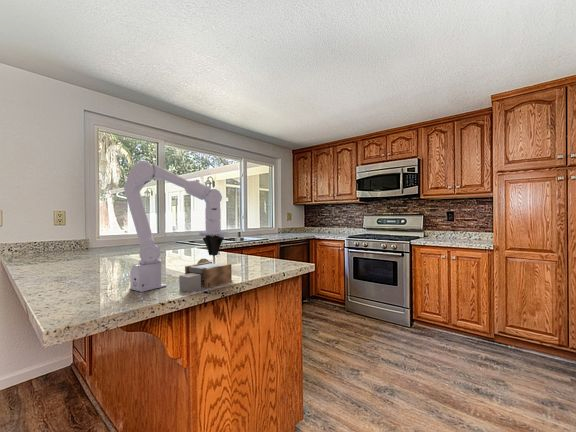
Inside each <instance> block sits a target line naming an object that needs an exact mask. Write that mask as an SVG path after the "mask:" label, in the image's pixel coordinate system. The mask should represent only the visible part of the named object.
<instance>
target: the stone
mask: <svg viewBox="0 0 576 432" xmlns="http://www.w3.org/2000/svg"><path fill="white" fill-rule="evenodd" d="M178 281H179V291H183V292H188V293H190V292H194V291H197V290H202V286H201V281H202V280H201V275H200V274H194V273H189V274H185V273H184V274H181V275H179V280H178Z"/></svg>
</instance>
